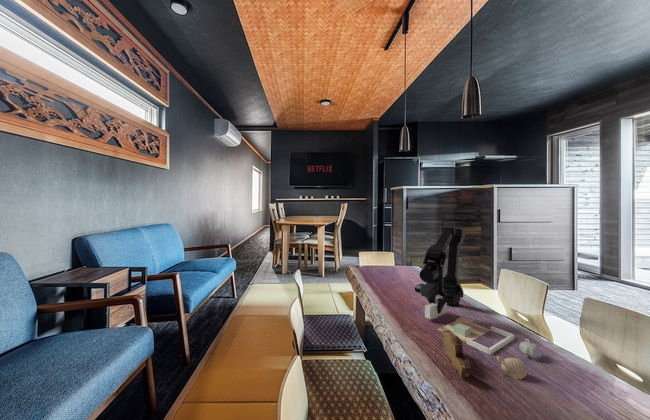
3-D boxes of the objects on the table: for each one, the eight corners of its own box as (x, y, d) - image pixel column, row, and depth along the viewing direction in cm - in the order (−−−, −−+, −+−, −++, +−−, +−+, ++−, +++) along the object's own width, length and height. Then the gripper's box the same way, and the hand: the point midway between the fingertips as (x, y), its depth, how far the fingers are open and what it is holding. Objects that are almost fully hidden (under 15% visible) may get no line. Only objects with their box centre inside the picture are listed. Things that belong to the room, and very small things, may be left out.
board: (461, 321, 110) (461, 318, 110) (490, 333, 100) (490, 330, 100) (437, 332, 102) (437, 329, 101) (467, 347, 91) (467, 343, 91)
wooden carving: (477, 384, 73) (478, 350, 73) (461, 384, 73) (462, 350, 73) (450, 350, 89) (450, 323, 89) (437, 350, 89) (437, 323, 89)
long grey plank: (441, 310, 116) (441, 299, 115) (446, 312, 113) (446, 301, 113) (424, 316, 109) (424, 305, 109) (430, 319, 107) (430, 307, 107)
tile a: (462, 322, 107) (462, 316, 107) (472, 326, 103) (473, 320, 103) (455, 325, 104) (455, 319, 104) (466, 329, 101) (466, 323, 101)
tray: (491, 333, 100) (491, 326, 100) (514, 342, 94) (514, 334, 94) (466, 347, 91) (466, 339, 91) (490, 359, 84) (490, 350, 84)
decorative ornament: (530, 381, 74) (530, 363, 74) (498, 376, 76) (498, 359, 76) (523, 371, 78) (523, 354, 78) (492, 368, 80) (492, 351, 80)
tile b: (459, 328, 102) (459, 322, 101) (471, 333, 98) (471, 327, 98) (453, 331, 99) (453, 325, 99) (464, 337, 95) (464, 330, 95)
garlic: (516, 349, 90) (517, 334, 90) (536, 352, 88) (536, 338, 87) (521, 358, 84) (521, 343, 84) (542, 362, 82) (542, 347, 82)
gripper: (406, 275, 115) (406, 309, 115) (444, 286, 99) (444, 325, 99) (422, 271, 120) (422, 303, 121) (460, 281, 105) (460, 318, 105)
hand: (436, 312), depth 111 cm, fingers closed on long grey plank, 2 cm apart
